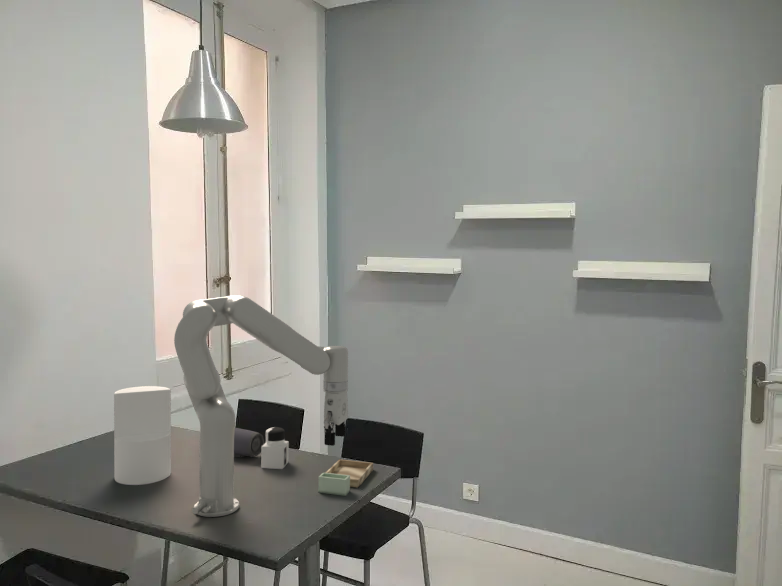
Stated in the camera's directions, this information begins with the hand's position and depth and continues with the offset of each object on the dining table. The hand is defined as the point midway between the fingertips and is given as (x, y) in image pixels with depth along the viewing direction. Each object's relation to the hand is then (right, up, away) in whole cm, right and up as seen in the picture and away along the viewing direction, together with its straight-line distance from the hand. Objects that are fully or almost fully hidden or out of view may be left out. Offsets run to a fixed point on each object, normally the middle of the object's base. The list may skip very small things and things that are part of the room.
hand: (335, 440), depth 189 cm
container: (-23, -15, +24) cm, 37 cm away
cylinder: (-65, -15, +12) cm, 67 cm away
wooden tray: (+3, -16, +14) cm, 21 cm away
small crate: (0, -16, +1) cm, 16 cm away
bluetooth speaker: (-41, -14, +35) cm, 56 cm away
